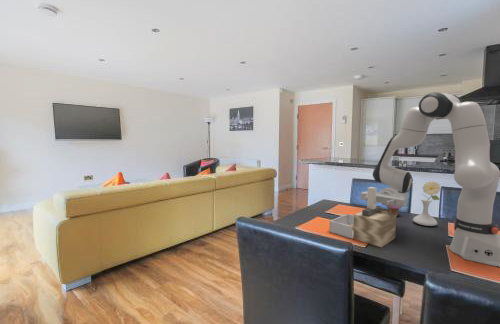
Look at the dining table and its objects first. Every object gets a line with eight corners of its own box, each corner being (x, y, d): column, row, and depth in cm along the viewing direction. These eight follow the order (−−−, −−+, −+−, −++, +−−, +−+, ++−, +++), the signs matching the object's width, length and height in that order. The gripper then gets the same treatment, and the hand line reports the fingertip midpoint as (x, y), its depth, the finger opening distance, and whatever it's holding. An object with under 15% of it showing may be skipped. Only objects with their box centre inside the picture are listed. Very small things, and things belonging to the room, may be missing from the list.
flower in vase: (407, 222, 147) (410, 179, 145) (422, 220, 151) (425, 178, 148) (429, 229, 135) (433, 183, 133) (445, 227, 139) (448, 182, 136)
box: (368, 230, 134) (368, 219, 134) (351, 238, 123) (352, 226, 122) (347, 224, 143) (347, 213, 143) (329, 232, 132) (329, 220, 131)
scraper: (380, 211, 127) (381, 186, 126) (368, 216, 118) (369, 189, 117) (374, 210, 129) (374, 185, 128) (362, 215, 121) (362, 189, 120)
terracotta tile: (351, 224, 138) (351, 227, 138) (347, 225, 135) (347, 228, 135) (358, 226, 135) (358, 229, 135) (355, 227, 132) (354, 230, 132)
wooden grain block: (395, 238, 124) (396, 214, 123) (381, 247, 113) (382, 221, 112) (368, 230, 133) (369, 208, 132) (353, 238, 123) (354, 214, 122)
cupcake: (386, 216, 158) (387, 200, 157) (383, 212, 166) (384, 197, 165) (402, 217, 155) (403, 201, 154) (399, 213, 163) (400, 198, 162)
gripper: (367, 187, 137) (355, 190, 128) (410, 193, 122) (400, 198, 113) (367, 199, 138) (354, 203, 129) (409, 206, 122) (399, 212, 113)
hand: (376, 201), depth 121 cm, fingers open, 8 cm apart
